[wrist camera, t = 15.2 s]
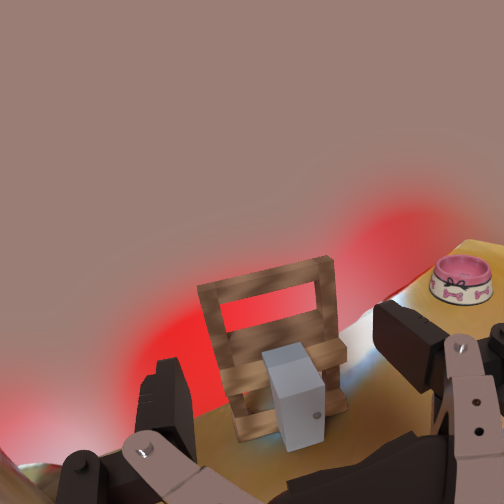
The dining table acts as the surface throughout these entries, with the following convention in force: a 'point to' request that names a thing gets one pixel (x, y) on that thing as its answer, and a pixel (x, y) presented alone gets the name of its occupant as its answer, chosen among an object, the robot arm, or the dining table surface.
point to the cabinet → (296, 395)
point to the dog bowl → (461, 280)
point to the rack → (275, 339)
